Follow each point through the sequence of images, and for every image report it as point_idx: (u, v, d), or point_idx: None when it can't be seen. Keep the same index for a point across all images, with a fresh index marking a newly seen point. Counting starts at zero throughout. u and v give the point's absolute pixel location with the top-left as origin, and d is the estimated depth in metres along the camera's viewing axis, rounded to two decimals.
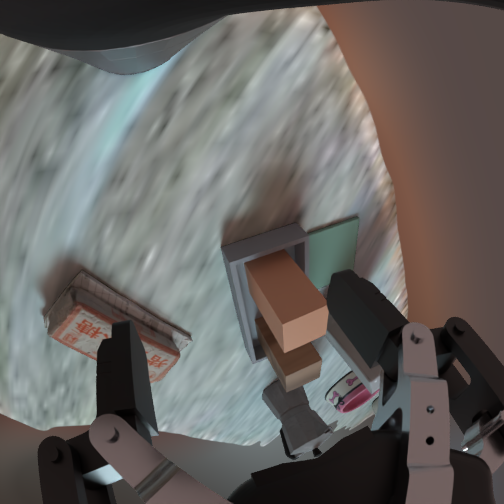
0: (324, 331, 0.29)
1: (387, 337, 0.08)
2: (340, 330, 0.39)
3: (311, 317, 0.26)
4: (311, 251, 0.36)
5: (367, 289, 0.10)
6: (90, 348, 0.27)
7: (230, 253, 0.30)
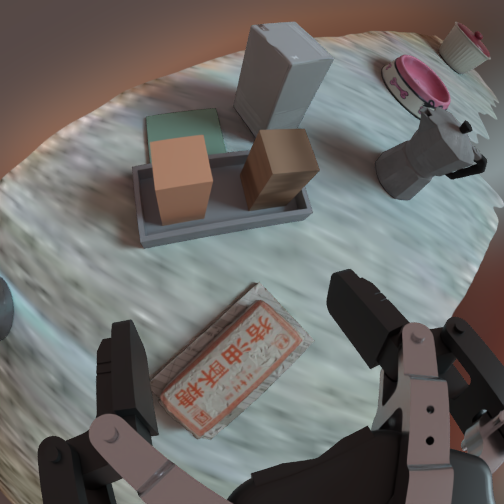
0: (196, 137, 0.25)
1: (387, 337, 0.08)
2: (263, 111, 0.32)
3: (160, 158, 0.23)
4: None
5: (367, 289, 0.10)
6: (220, 401, 0.26)
7: None
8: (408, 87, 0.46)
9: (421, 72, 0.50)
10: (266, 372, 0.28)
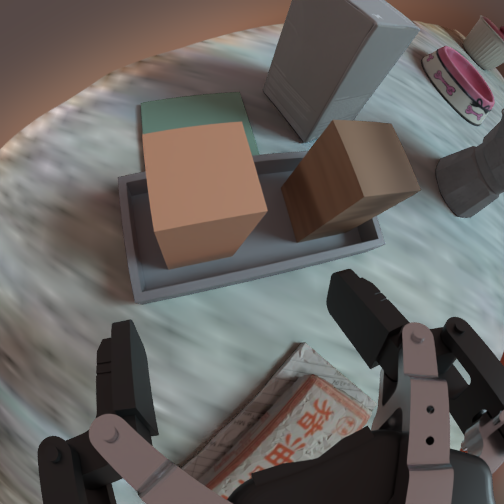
0: (229, 126, 0.13)
1: (387, 337, 0.08)
2: (315, 95, 0.21)
3: (162, 165, 0.12)
4: None
5: (367, 289, 0.10)
6: None
7: None
8: (455, 82, 0.34)
9: (460, 67, 0.39)
10: None
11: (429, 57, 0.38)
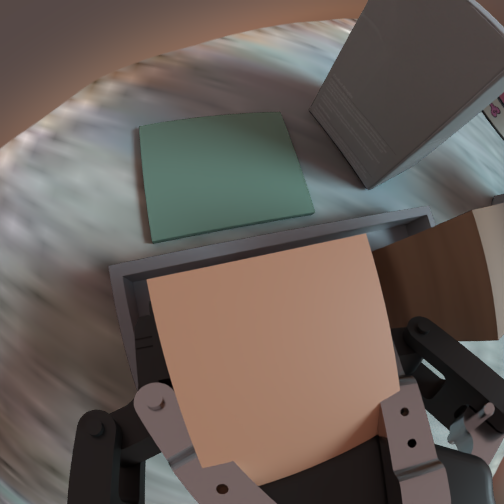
0: (346, 247, 0.06)
1: None
2: (399, 133, 0.14)
3: (210, 370, 0.05)
4: (196, 224, 0.16)
5: None
6: None
7: None
8: (501, 103, 0.27)
9: None
10: None
11: None
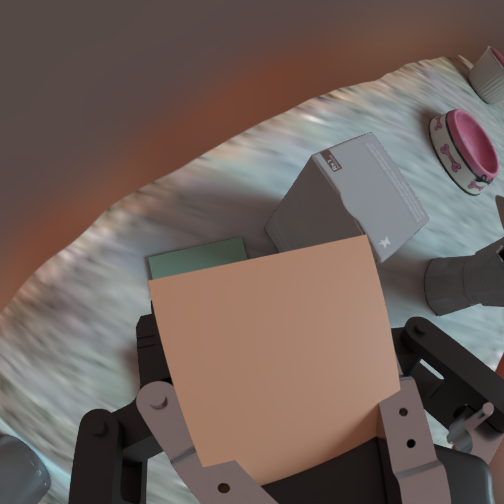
0: (346, 248, 0.06)
1: None
2: None
3: (212, 371, 0.05)
4: None
5: None
6: None
7: None
8: (462, 159, 0.39)
9: (467, 127, 0.43)
10: None
11: (437, 124, 0.42)
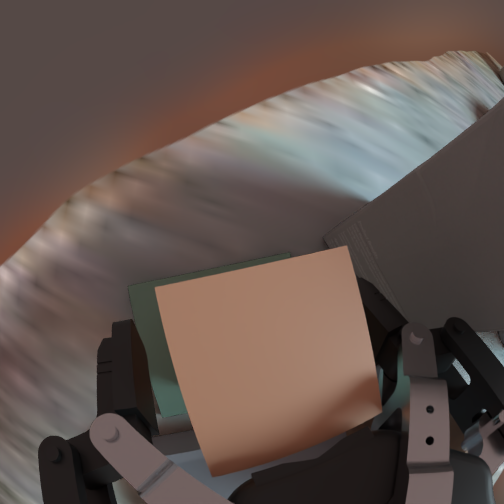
0: (328, 258, 0.07)
1: (386, 337, 0.08)
2: (422, 314, 0.13)
3: (210, 364, 0.06)
4: None
5: (366, 289, 0.10)
6: None
7: None
8: None
9: None
10: None
11: None
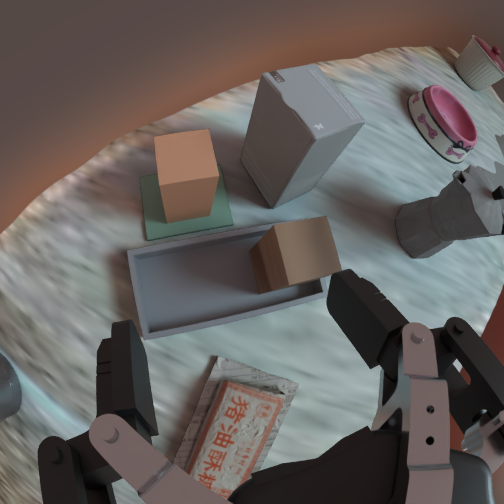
0: (201, 131, 0.24)
1: (387, 337, 0.08)
2: (275, 179, 0.29)
3: (164, 152, 0.23)
4: (169, 231, 0.31)
5: (367, 289, 0.10)
6: (233, 477, 0.23)
7: None
8: (437, 126, 0.42)
9: (447, 103, 0.47)
10: (262, 440, 0.25)
11: (415, 98, 0.46)
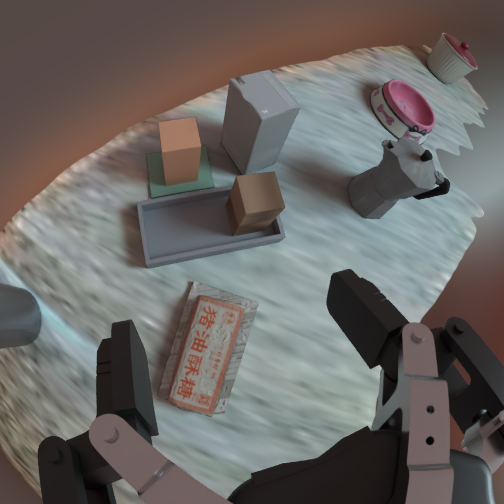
0: (190, 118, 0.35)
1: (387, 337, 0.08)
2: (243, 151, 0.40)
3: (166, 132, 0.34)
4: (167, 191, 0.42)
5: (367, 289, 0.10)
6: (209, 381, 0.34)
7: None
8: (394, 114, 0.54)
9: (408, 95, 0.58)
10: (229, 345, 0.36)
11: (376, 92, 0.57)
